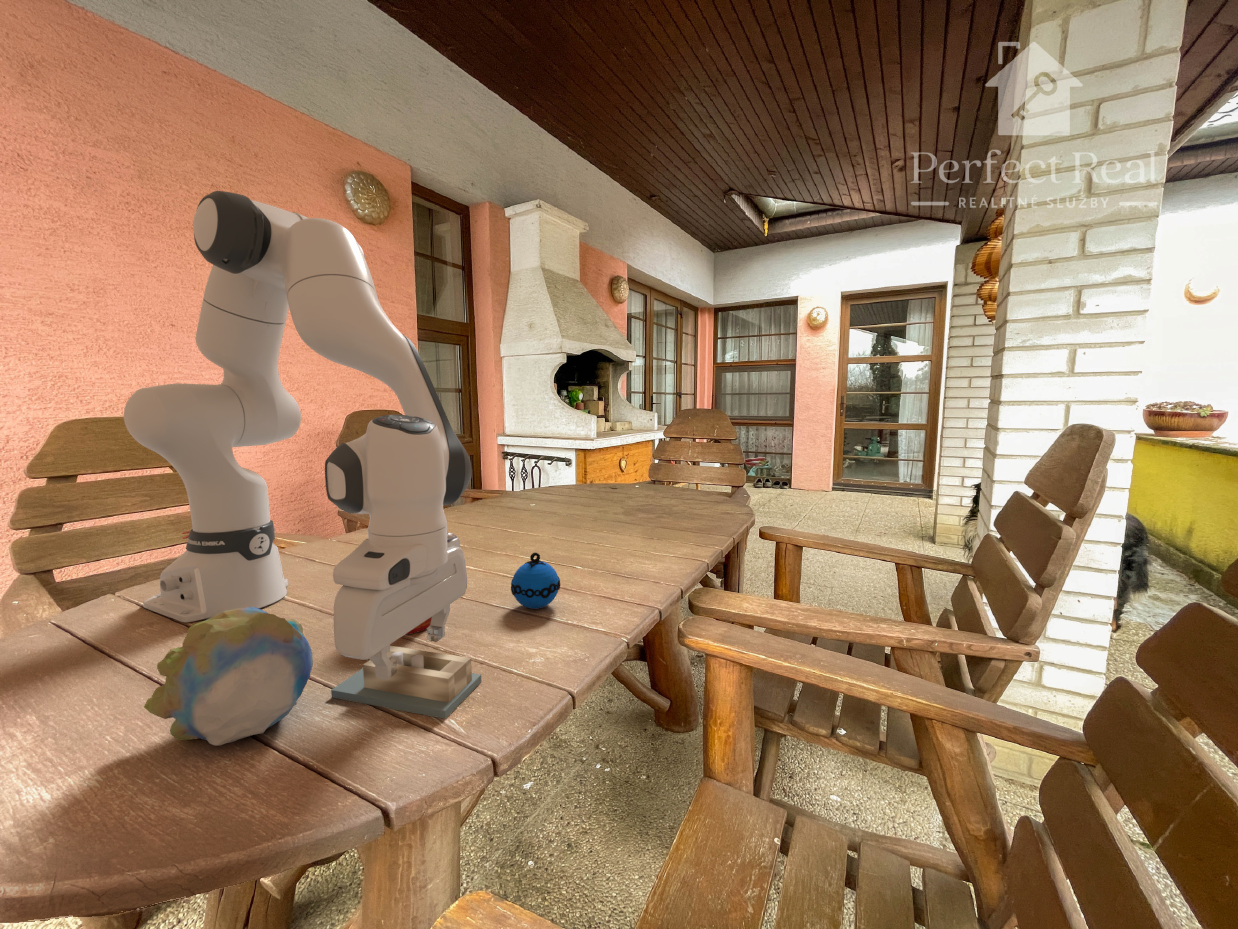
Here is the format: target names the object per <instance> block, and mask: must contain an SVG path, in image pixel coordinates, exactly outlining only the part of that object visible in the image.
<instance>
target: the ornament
mask: <svg viewBox="0 0 1238 929" xmlns="http://www.w3.org/2000/svg"><path fill="white" fill-rule="evenodd" d="M535 557H536V558H535ZM529 559H530V560H528V561H526V562H524V563H523V564H521V565H520V567H518V569H517V570H515V572H514V574H513V577H512V579H511V582H510V590H511V595H512V596H513V597H514V598H515V600H516V601H517V602H518V603H519V604H520V605H522V606H523V607H524V608H528V609H531V610H536V609H537V610H538V609H539V610H540V609H542V608H544V607H547V606H548V605H550V604H551V603H552V602H553V601H554V600H555V598H556V596H557V595H558V593H559V591H560V589H561V579H560V577H559V575H558V573H557V571H556V570H555V568H554V567H553V566H552V565H551V564H549V563H547V562H545V561H542V560H541V555H540V554H539V553H538V552H533V553H531V554H530V557H529Z"/></svg>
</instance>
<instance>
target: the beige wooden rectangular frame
mask: <svg viewBox="0 0 1238 929" xmlns="http://www.w3.org/2000/svg"><path fill="white" fill-rule="evenodd" d="M395 652H403V665H398V664H397V666H396V669H397V672H396V674H394V675H393V676H392V677H391V678H389V679H388V680H381V679H378V678H377V677H376V674H375V665H374V664H373V662H372V661H371V660H370V659H368V660H367V661H366V662H365V663H363V664H362V668H363V674H364V687H365V688H370V689H376V690H381V691H387V692H392V693H398V694H404V695H409V696H415V697H420V698H426V699H432V700H437V701H443V702H448V703H449V702H450V701H451V700H452V699H453V698H454V697H455V696H456V695H457V694H458V693H459V692H460V691H461V690H462V689H463V688H465V687H466V686H467V685H468V684H469V683H470V682H471V681H472V673H473V670H472V669H473V667H472V658H471V657H467V656H461V655H453V654H447V653H441V652H435V651H434V652H433V651H428V650H421V649H414V648H407V647H401V646H394V645H393V646H392V645H390V652H388V653H387V656H388V657H389V659H390V660H391V654H392V653H395ZM415 655H423V660H424V669H423V668H417V667H412V662H411V658H412V657H413V656H415Z"/></svg>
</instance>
